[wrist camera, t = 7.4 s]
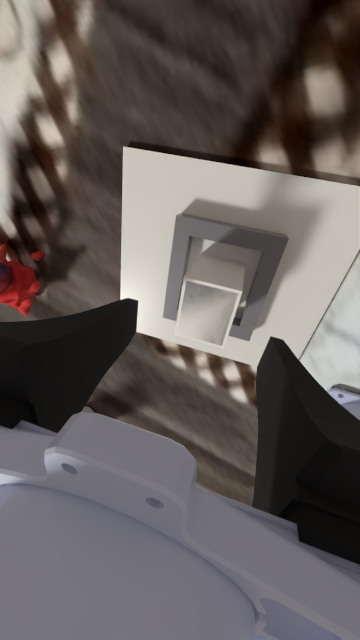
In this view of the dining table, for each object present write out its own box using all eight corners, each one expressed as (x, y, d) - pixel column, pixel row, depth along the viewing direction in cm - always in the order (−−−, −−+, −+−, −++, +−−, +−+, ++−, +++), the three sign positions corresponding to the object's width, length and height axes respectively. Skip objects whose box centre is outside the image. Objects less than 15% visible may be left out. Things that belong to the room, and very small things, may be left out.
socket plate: (387, 191, 15) (404, 192, 13) (288, 372, 23) (291, 387, 22) (126, 147, 18) (112, 143, 16) (122, 324, 26) (113, 334, 24)
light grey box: (245, 262, 19) (242, 291, 14) (230, 309, 21) (223, 349, 16) (201, 252, 19) (183, 276, 14) (192, 299, 22) (174, 334, 17)
